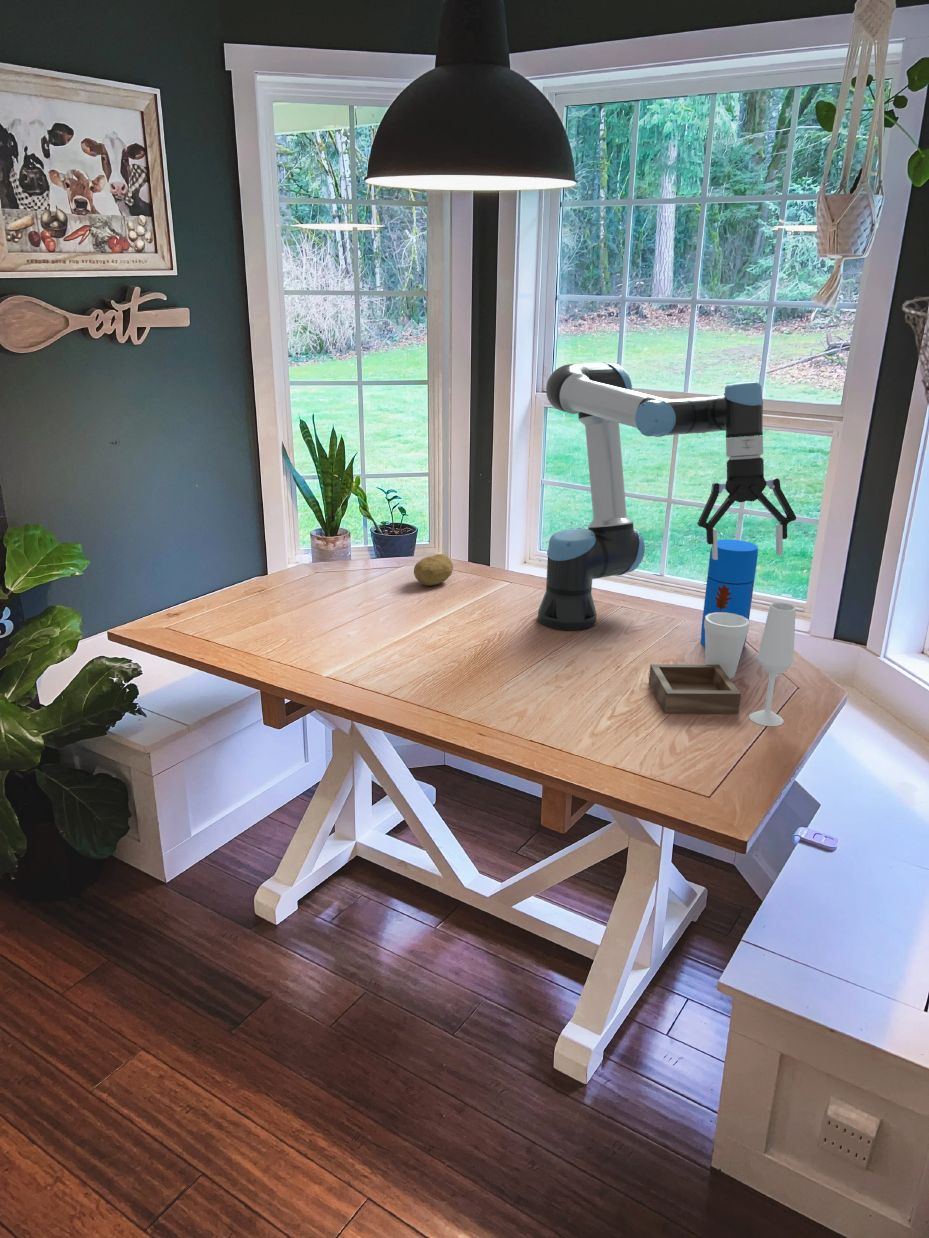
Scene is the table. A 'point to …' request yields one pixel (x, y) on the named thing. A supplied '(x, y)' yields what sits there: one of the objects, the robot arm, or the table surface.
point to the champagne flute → (775, 655)
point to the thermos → (730, 580)
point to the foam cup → (725, 640)
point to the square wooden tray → (694, 689)
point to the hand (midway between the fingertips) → (747, 557)
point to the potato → (433, 569)
